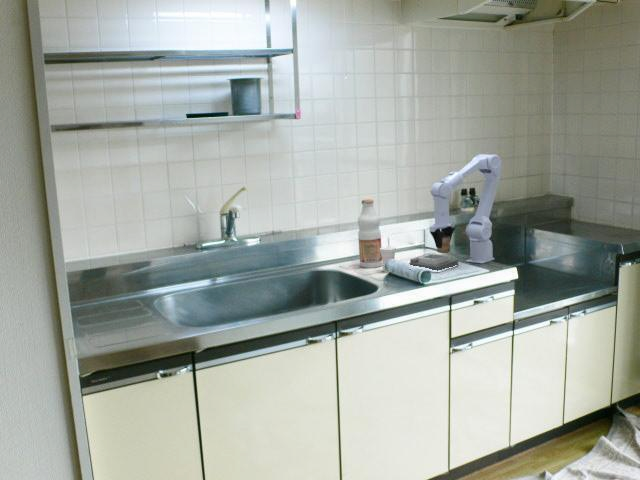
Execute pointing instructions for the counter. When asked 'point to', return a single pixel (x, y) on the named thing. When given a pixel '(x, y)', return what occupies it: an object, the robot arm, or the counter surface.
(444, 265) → the grey square box
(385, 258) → the smoothie
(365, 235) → the fruit juice
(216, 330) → the counter surface
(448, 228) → the robot arm
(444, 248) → the brown short cylinder
